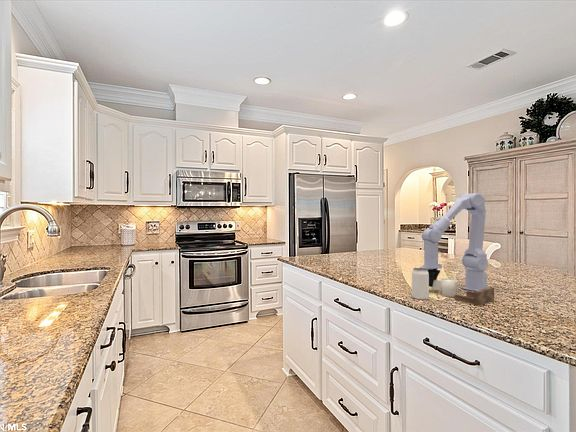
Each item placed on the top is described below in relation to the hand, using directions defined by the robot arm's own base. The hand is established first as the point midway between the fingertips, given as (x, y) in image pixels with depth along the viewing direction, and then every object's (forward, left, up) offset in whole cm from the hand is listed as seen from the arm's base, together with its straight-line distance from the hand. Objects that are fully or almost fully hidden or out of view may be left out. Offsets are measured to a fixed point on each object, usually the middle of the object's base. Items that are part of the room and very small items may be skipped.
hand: (431, 286), depth 147 cm
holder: (0, +17, -2) cm, 18 cm away
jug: (0, +6, -2) cm, 7 cm away
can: (+14, +3, -3) cm, 15 cm away
